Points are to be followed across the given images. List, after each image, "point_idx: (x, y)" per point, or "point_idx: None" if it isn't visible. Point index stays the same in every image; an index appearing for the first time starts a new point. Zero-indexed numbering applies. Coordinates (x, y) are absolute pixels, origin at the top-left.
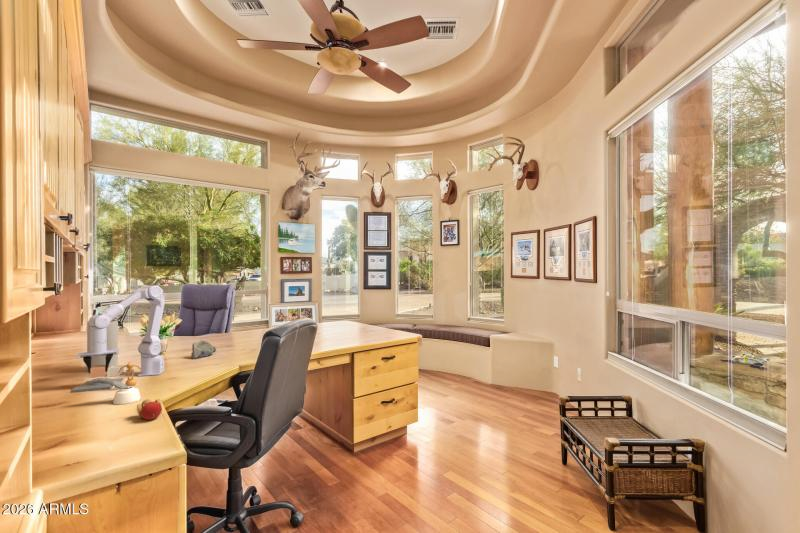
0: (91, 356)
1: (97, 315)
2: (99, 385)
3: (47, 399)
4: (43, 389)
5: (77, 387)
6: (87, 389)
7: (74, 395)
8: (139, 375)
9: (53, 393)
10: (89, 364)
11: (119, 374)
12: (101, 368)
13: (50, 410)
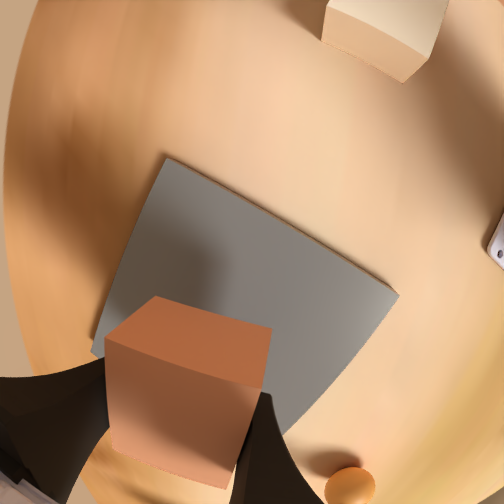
0: (40, 501)
1: None
2: None
3: (47, 372)
4: (13, 155)
5: (111, 323)
6: None
7: None
8: (494, 259)
9: (41, 288)
10: (81, 456)
11: (406, 76)
12: (200, 475)
13: (98, 481)
